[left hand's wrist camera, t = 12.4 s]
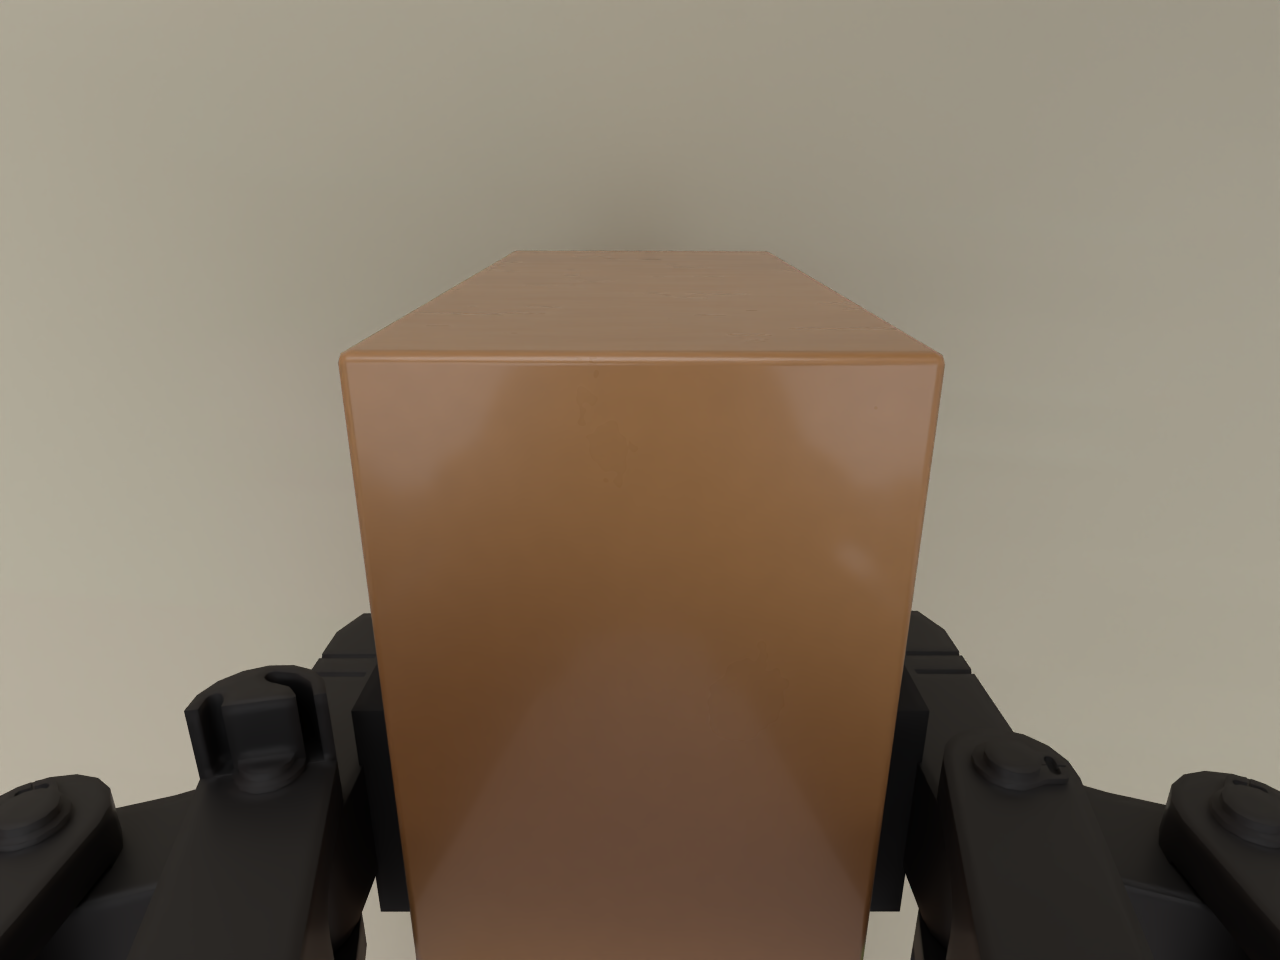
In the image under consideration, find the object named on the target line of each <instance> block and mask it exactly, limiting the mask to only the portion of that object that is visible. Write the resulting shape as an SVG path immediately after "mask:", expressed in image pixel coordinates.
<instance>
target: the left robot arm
mask: <svg viewBox="0 0 1280 960" xmlns="http://www.w3.org/2000/svg"><path fill="white" fill-rule="evenodd" d="M184 713H185V717H186V721H187V725H188V730H189V734H190V738H191V742H192V747H193V751H194V755H195V759H196V764H197V768H198V772H199V776H200V781H199V783H198V785H197V788H196V790H192V791H189V792H185V793H182V794H178V795H175V796H170V797H166V798H161V799H156V800H152V801H147V802H143V803H138V804H133V805H129V806H124V807H120V808H115V804H114V801H113V797H112V794H111V790H110V788H109V787H108V786H107V785H106V784H104V783H103V782H102V781H101V780H100V779H99V778H95V777H89V776H84V775H78V774H75V775H66V776H57V777H49V778H46V779H42V780H38V781H35V782H33V783H28V784H25V785H22V786H20V787H17V788H15V789H13V790H11V791H9V792H7V793H5V794H3V795H1V796H0V960H365V956H366V947H367V943H366V936H365V929H364V923H363V917H362V911H363V908H364V905H365V903H366V900H367V897H368V895H369V892H370V890H371V887H372V884H373V882H374V879H375V876H376V882H377V888H378V895H379V902H380V908H381V912H410V907H409V899H408V892H407V884H406V876H405V869H404V861H403V853H402V846H401V838H400V831H399V823H398V815H397V808H396V800H395V792H394V785H393V777H392V769H391V762H390V754H389V746H388V739H387V731H386V724H385V716H384V708H383V701H382V693H381V685H380V678H379V670H378V663H377V655H376V647H375V640H374V632H373V624H372V617H371V613H364V614H362V615H361V616H359V617H358V618H356V619H355V620H354V621H352V622H351V623H349V624H348V625H346V626H345V627H344V628H342V629H341V630H339V631H338V632H337V633H336V634H335V636H334V637H333V639H332V640H331V642H330V643H329V645H328V646H327V648H326V649H325V651H324V652H323V654H322V658H319V659H318V661H317V662H316V664H315V665H314V667H313V668H312V670H311V669H307V668H303V667H299V666H295V665H275V666H265V667H260V668H256V669H251V670H246V671H242V672H240V673H237V674H235V675H232V676H230V677H227V678H225V679H223V680H220V681H218V682H216V683H215V684H213V685H212V686H210V687H209V688H207V689H206V690H204V691H203V692H201V693H200V694H198V695H197V696H196V697H195V698H194V700H193V701H192V702H191V703H190V704H189V706H188V707H187V708H186V709H185V711H184ZM905 873H906V876H907V879H908V881H909V884H910V886H911V889H912V892H913V894H914V897H915V900H916V902H917V905H918V907H919V911H918V917H917V923H916V929H915V935H914V942H913V948H912V954H911V960H1280V791H1278V790H1276V789H1274V788H1272V787H1270V786H1268V785H1266V784H1264V783H1261V782H1258V781H1255V780H1252V779H1247V778H1246V777H1241V776H1238V775H1234V774H1228V773H1219V772H1210V771H1202V772H1196V773H1190V774H1184V775H1183V776H1181V777H1180V778H1179V779H1178V780H1177V781H1176V782H1174V783H1173V784H1172V786H1171V789H1170V793H1169V796H1168V800H1167V803H1166V805H1163V804H1158V803H1154V802H1149V801H1145V800H1140V799H1135V798H1131V797H1126V796H1121V795H1117V794H1112V793H1108V792H1104V791H1101V790H1097V789H1094V788H1090V787H1087V786H1084V785H1083V784H1082V782H1081V779H1080V777H1079V776H1078V774H1077V773H1076V772H1075V770H1074V769H1073V767H1072V766H1071V764H1070V763H1069V762H1068V761H1067V760H1066V759H1065V758H1064V757H1062V756H1061V755H1060V754H1058V753H1057V752H1056V751H1054V750H1053V749H1052V748H1050V747H1049V746H1048V745H1045V744H1043V743H1041V742H1039V741H1037V740H1035V739H1032V738H1030V737H1028V736H1026V735H1023V734H1019V733H1015V732H1013V731H1012V729H1011V728H1010V726H1009V725H1008V723H1007V722H1006V720H1005V719H1004V717H1003V716H1002V714H1001V713H1000V711H999V710H998V708H997V707H996V705H995V704H994V703H993V701H992V700H991V698H990V697H989V695H988V694H987V692H986V691H985V689H984V688H983V686H982V685H981V683H980V682H979V680H978V679H977V677H976V676H975V674H971V668H970V667H969V665H968V664H967V663H966V661H965V660H964V658H963V657H962V656H959V651H958V649H957V648H956V646H955V645H954V643H953V642H952V640H951V639H950V637H949V636H948V634H947V633H946V631H945V630H944V629H943V628H941V627H940V626H938V625H937V624H936V623H934V622H933V621H931V620H930V619H928V618H927V617H925V616H924V615H923V614H921V613H920V612H918V611H911V615H910V622H909V630H908V637H907V644H906V651H905V659H904V666H903V673H902V681H901V688H900V695H899V702H898V710H897V717H896V724H895V731H894V739H893V746H892V753H891V761H890V768H889V775H888V782H887V790H886V797H885V804H884V811H883V819H882V826H881V833H880V841H879V848H878V855H877V862H876V870H875V877H874V884H873V891H872V899H871V906H870V911H900V906H901V899H902V892H903V886H904V879H905Z"/></svg>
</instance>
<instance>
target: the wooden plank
mask: <svg viewBox="0 0 1280 960" xmlns="http://www.w3.org/2000/svg"><path fill="white" fill-rule="evenodd" d="M338 365H339V372H340V380H341V388H342V395H343V403H344V411H345V418H346V426H347V433H348V441H349V449H350V456H351V464H352V472H353V479H354V487H355V495H356V502H357V510H358V517H359V525H360V533H361V540H362V548H363V556H364V563H365V571H366V579H367V586H368V594H369V601H370V609H371V617H372V624H373V632H374V640H375V647H376V655H377V663H378V670H379V678H380V685H381V693H382V701H383V708H384V716H385V724H386V731H387V739H388V746H389V754H390V762H391V769H392V777H393V785H394V792H395V800H396V808H397V815H398V823H399V831H400V838H401V846H402V853H403V861H404V869H405V876H406V884H407V892H408V899H409V907H410V914H411V922H412V930H413V937H414V945H415V953H416V960H863V957H864V950H865V942H866V935H867V928H868V921H869V913H870V906H871V899H872V891H873V884H874V877H875V870H876V862H877V855H878V848H879V841H880V833H881V826H882V819H883V811H884V804H885V797H886V790H887V782H888V775H889V768H890V761H891V753H892V746H893V739H894V731H895V724H896V717H897V710H898V702H899V695H900V688H901V681H902V673H903V666H904V659H905V651H906V644H907V637H908V630H909V622H910V615H911V608H912V601H913V593H914V586H915V579H916V571H917V564H918V557H919V550H920V542H921V535H922V528H923V521H924V513H925V506H926V499H927V491H928V484H929V477H930V470H931V462H932V455H933V448H934V441H935V433H936V426H937V419H938V411H939V404H940V397H941V390H942V382H943V375H944V368H945V362H944V359H943V355H941V354H940V353H938V352H936V351H935V350H933V349H931V348H930V347H928V346H926V345H925V344H923V343H921V342H919V341H918V340H916V339H914V338H913V337H911V336H909V335H908V334H906V333H904V332H903V331H901V330H899V329H898V328H896V327H894V326H892V325H891V324H889V323H887V322H886V321H884V320H882V319H881V318H879V317H877V316H876V315H874V314H872V313H870V312H869V311H867V310H865V309H864V308H862V307H860V306H859V305H857V304H855V303H854V302H852V301H850V300H849V299H847V298H845V297H843V296H842V295H840V294H838V293H837V292H835V291H833V290H832V289H830V288H828V287H827V286H825V285H823V284H821V283H820V282H818V281H816V280H815V279H813V278H811V277H810V276H808V275H806V274H805V273H803V272H801V271H800V270H798V269H796V268H794V267H793V266H791V265H789V264H788V263H786V262H784V261H783V260H781V259H779V258H778V257H776V256H774V255H772V254H771V253H769V252H766V251H515V252H513V253H511V254H509V255H508V256H506V257H504V258H502V259H501V260H499V261H497V262H496V263H494V264H492V265H491V266H489V267H487V268H485V269H484V270H482V271H480V272H479V273H477V274H475V275H473V276H472V277H470V278H468V279H467V280H465V281H463V282H462V283H460V284H458V285H456V286H455V287H453V288H451V289H450V290H448V291H446V292H445V293H443V294H441V295H439V296H438V297H436V298H434V299H433V300H431V301H429V302H428V303H426V304H424V305H422V306H421V307H419V308H417V309H416V310H414V311H412V312H410V313H409V314H407V315H405V316H404V317H402V318H400V319H399V320H397V321H395V322H393V323H392V324H390V325H388V326H387V327H385V328H383V329H382V330H380V331H378V332H376V333H375V334H373V335H371V336H370V337H368V338H366V339H365V340H363V341H361V342H359V343H358V344H356V345H354V346H353V347H351V348H349V349H347V350H346V351H344V352H342V353H341V355H340V358H339V362H338Z"/></svg>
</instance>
